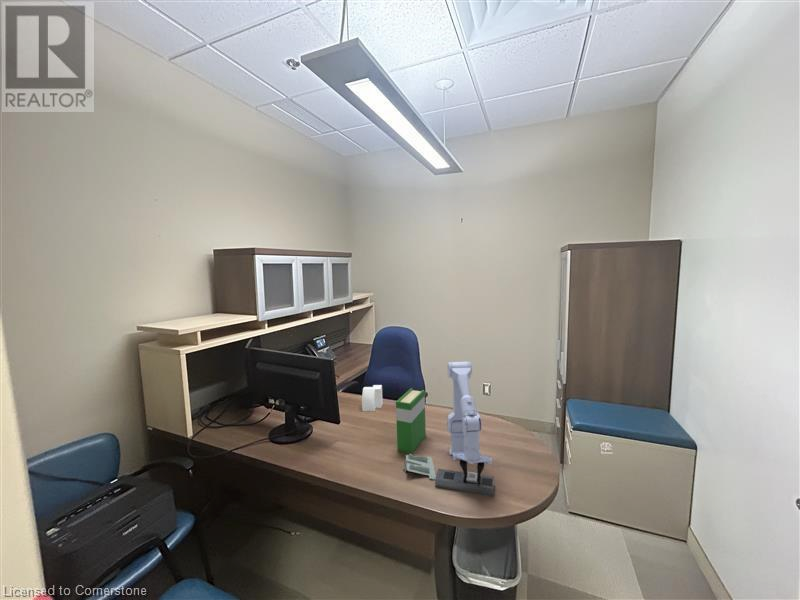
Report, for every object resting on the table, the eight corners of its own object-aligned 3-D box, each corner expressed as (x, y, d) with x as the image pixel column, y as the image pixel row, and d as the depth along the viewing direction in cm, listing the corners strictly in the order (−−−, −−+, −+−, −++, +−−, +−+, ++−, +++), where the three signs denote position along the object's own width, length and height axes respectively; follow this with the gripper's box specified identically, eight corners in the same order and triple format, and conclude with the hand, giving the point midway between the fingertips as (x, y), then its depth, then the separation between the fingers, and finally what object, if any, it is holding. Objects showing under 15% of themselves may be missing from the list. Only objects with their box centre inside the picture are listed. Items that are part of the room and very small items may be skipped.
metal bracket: (406, 468, 133) (404, 448, 148) (402, 481, 133) (401, 459, 148) (440, 476, 134) (435, 455, 148) (436, 489, 134) (432, 466, 149)
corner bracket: (382, 403, 208) (381, 385, 207) (379, 411, 197) (379, 392, 196) (366, 403, 209) (365, 385, 208) (362, 411, 198) (361, 392, 197)
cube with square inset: (467, 480, 131) (467, 471, 131) (477, 482, 130) (477, 472, 130) (466, 487, 127) (466, 477, 127) (477, 489, 126) (477, 479, 126)
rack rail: (438, 475, 136) (438, 468, 136) (493, 484, 130) (493, 476, 130) (435, 486, 130) (435, 479, 129) (493, 496, 123) (493, 488, 123)
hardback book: (412, 432, 171) (411, 388, 169) (425, 435, 168) (424, 390, 165) (397, 450, 156) (395, 401, 153) (412, 453, 152) (410, 404, 150)
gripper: (451, 448, 125) (452, 481, 127) (491, 454, 121) (491, 488, 123) (454, 439, 132) (454, 470, 134) (491, 443, 128) (491, 476, 129)
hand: (472, 478), depth 129 cm, fingers closed on cube with square inset, 4 cm apart
